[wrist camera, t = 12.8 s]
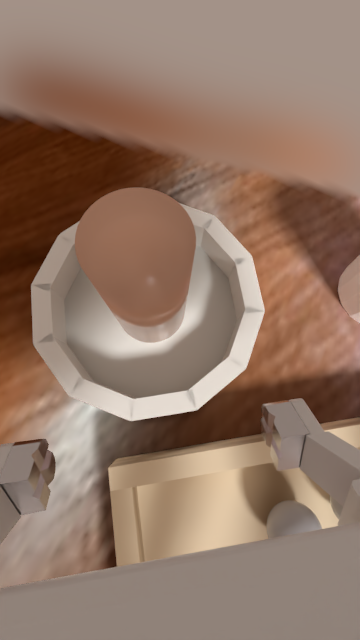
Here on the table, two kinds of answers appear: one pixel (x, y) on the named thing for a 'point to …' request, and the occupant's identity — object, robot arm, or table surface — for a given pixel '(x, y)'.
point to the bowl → (140, 357)
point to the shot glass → (351, 289)
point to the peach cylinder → (139, 259)
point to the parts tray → (208, 496)
